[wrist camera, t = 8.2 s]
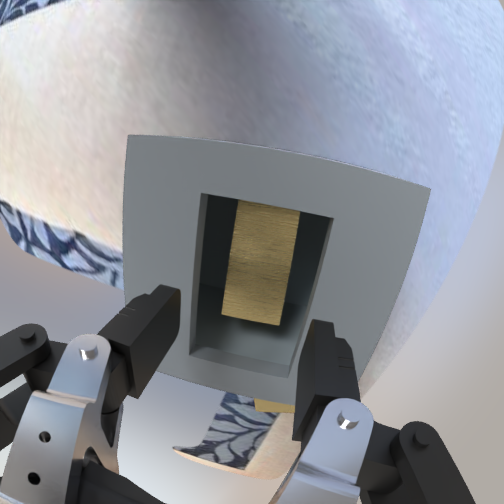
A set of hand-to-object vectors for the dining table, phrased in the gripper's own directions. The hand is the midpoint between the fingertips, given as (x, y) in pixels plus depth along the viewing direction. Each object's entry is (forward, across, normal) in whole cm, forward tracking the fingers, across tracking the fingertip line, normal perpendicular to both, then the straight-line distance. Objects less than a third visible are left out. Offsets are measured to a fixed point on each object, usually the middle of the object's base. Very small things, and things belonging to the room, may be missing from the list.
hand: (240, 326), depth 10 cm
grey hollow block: (+12, 0, 0) cm, 12 cm away
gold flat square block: (+7, 0, +3) cm, 7 cm away
